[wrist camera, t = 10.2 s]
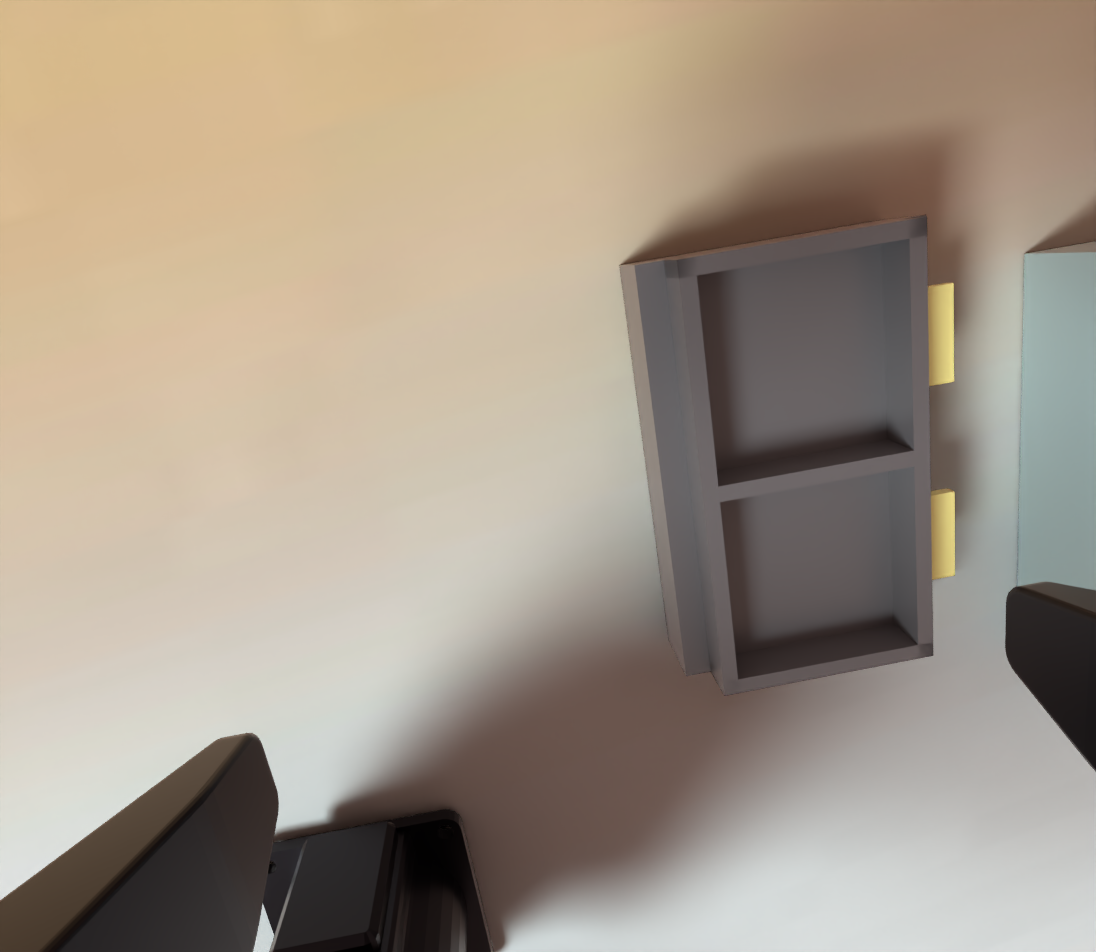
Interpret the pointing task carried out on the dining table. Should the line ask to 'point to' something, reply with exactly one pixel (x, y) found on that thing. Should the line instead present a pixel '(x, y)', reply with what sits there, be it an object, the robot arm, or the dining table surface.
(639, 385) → the block
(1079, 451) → the tray
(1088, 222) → the dining table surface
